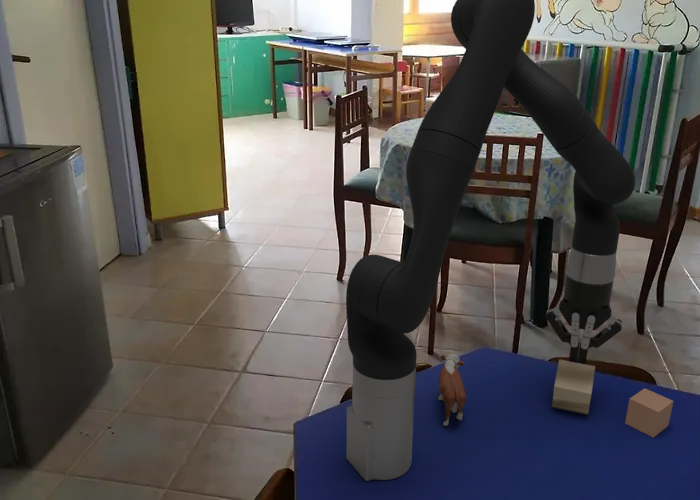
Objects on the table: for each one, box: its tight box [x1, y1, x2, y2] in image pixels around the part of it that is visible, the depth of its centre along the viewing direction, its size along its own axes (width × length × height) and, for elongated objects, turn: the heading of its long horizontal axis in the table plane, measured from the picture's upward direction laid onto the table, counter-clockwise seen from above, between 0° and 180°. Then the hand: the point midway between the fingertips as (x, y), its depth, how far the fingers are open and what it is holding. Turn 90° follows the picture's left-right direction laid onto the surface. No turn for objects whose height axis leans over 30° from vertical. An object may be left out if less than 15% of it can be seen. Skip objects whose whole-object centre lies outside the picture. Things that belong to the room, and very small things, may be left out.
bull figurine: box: [438, 353, 467, 427], centre depth 116 cm, size 4×13×8 cm, turn 174°
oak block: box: [551, 359, 596, 416], centre depth 117 cm, size 6×6×6 cm
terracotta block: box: [624, 387, 674, 438], centre depth 113 cm, size 5×5×5 cm
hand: (576, 364), depth 119 cm, fingers closed
